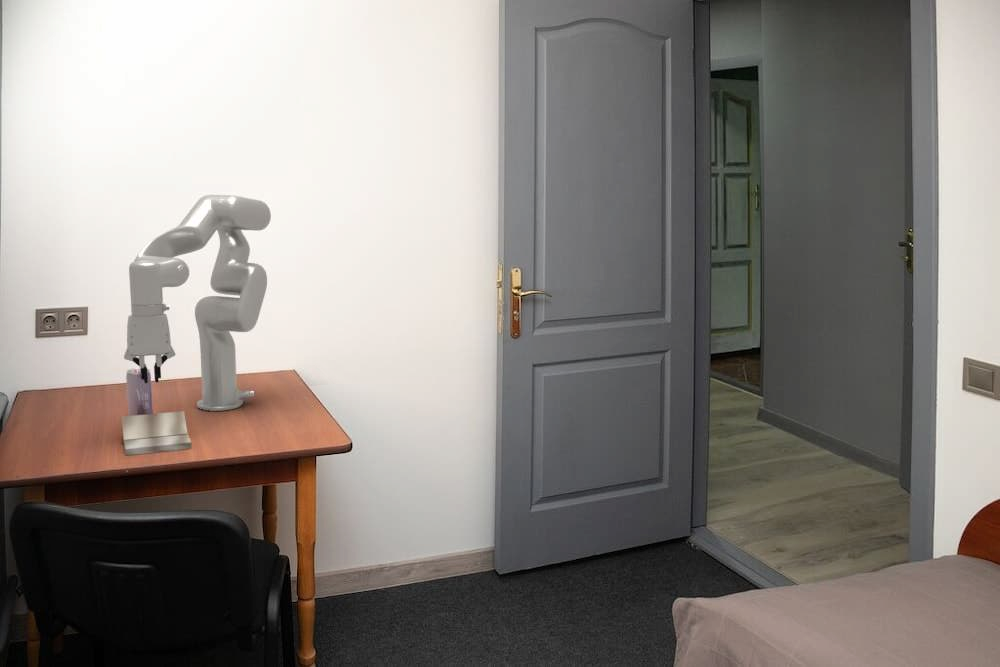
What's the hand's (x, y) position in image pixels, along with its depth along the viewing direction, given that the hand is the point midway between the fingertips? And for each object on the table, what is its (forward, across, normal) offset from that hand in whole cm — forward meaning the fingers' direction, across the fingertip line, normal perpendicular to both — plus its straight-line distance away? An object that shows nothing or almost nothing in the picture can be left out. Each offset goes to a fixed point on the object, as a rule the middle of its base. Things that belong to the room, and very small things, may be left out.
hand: (151, 381), depth 238 cm
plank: (+12, 0, +3) cm, 12 cm away
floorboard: (+14, 0, +12) cm, 18 cm away
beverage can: (+14, +2, -10) cm, 17 cm away
